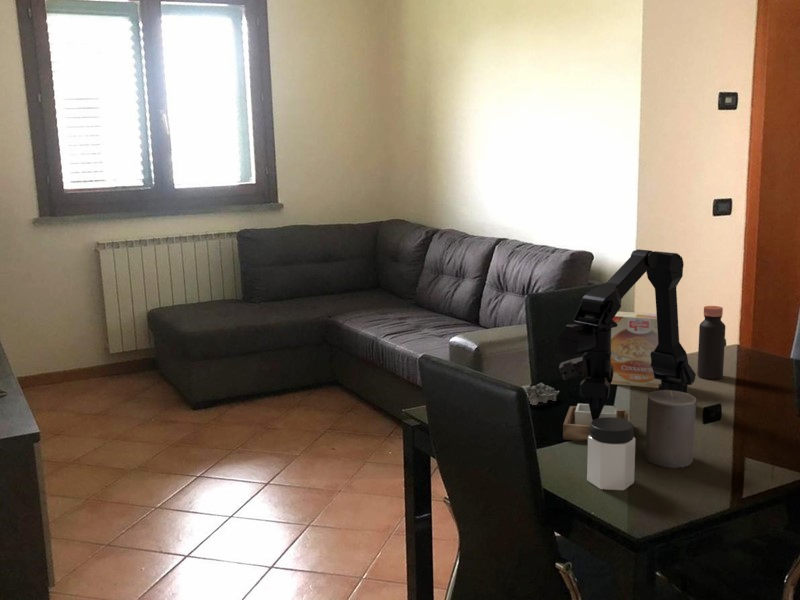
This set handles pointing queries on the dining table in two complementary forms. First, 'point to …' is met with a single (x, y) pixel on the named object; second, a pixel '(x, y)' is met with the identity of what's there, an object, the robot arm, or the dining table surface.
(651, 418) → the pillar candle
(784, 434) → the dining table surface
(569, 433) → the walnut crate
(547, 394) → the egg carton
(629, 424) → the jar
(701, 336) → the bottle
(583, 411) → the grey crate
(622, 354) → the coffeecake box
